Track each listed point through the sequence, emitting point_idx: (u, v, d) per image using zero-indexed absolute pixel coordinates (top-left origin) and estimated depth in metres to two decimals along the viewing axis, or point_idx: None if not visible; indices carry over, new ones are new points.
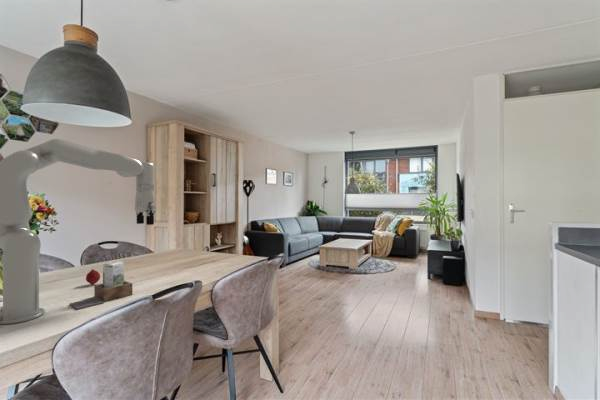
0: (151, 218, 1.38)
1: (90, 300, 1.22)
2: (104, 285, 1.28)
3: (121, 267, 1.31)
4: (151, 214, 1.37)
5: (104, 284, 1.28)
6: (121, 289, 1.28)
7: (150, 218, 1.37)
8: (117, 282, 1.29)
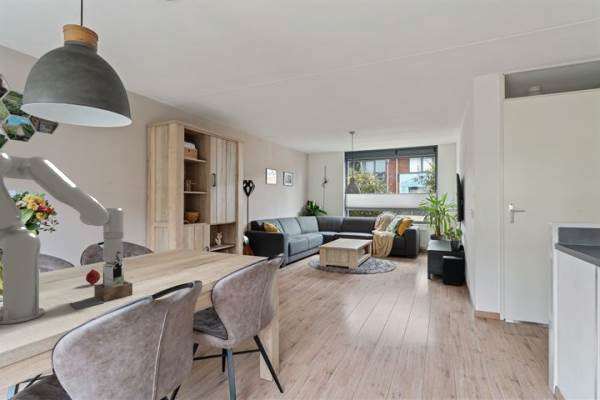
0: (118, 270, 1.28)
1: (90, 300, 1.22)
2: (104, 285, 1.28)
3: None
4: (118, 266, 1.27)
5: (104, 284, 1.28)
6: (121, 289, 1.28)
7: (117, 270, 1.27)
8: (117, 282, 1.29)
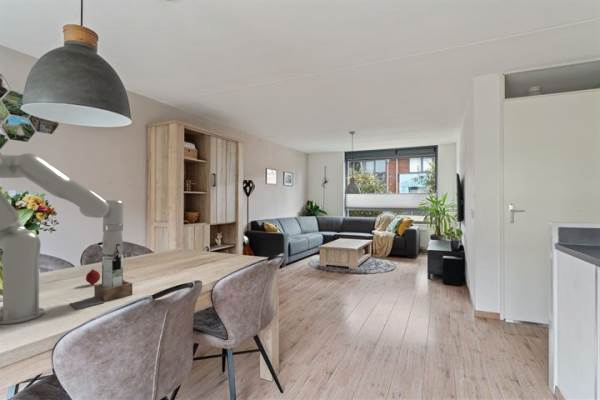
0: (118, 263, 1.27)
1: (90, 300, 1.22)
2: (103, 277, 1.28)
3: None
4: (117, 259, 1.27)
5: (103, 276, 1.28)
6: (121, 289, 1.28)
7: (116, 262, 1.27)
8: (116, 275, 1.29)
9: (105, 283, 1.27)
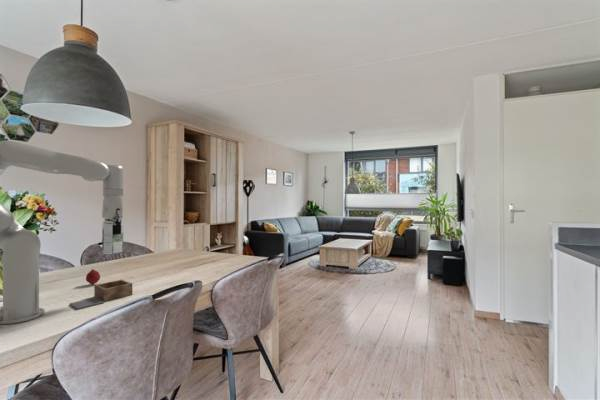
0: (118, 227, 1.27)
1: (90, 300, 1.22)
2: (103, 242, 1.28)
3: None
4: (118, 223, 1.27)
5: (103, 241, 1.28)
6: (121, 289, 1.28)
7: (117, 227, 1.27)
8: (116, 239, 1.29)
9: (105, 247, 1.28)
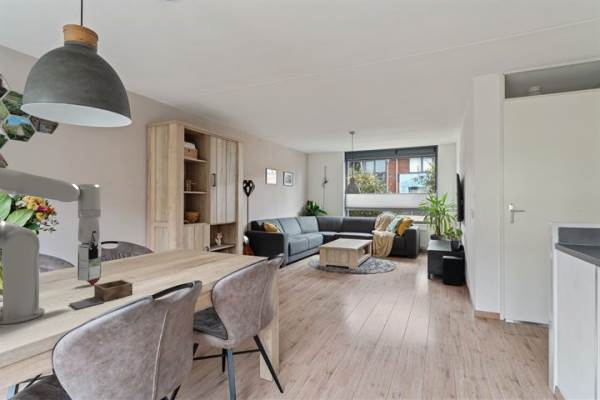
0: (94, 251, 1.18)
1: (90, 300, 1.22)
2: (79, 267, 1.18)
3: (98, 248, 1.21)
4: (94, 247, 1.17)
5: (79, 266, 1.18)
6: (121, 289, 1.28)
7: (93, 251, 1.17)
8: (93, 264, 1.19)
9: (81, 273, 1.18)
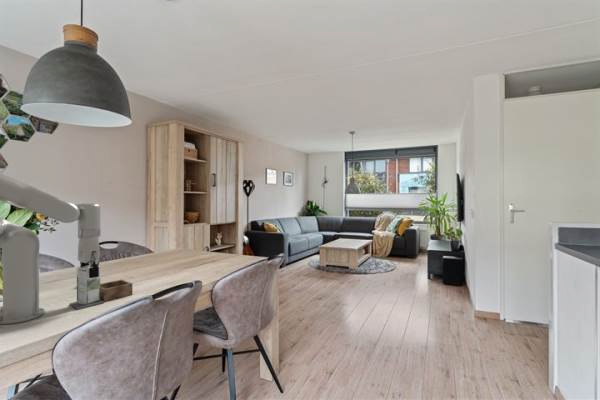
0: (95, 270, 1.17)
1: None
2: (78, 290, 1.18)
3: None
4: (95, 266, 1.16)
5: (78, 289, 1.18)
6: (121, 289, 1.28)
7: (94, 270, 1.17)
8: (92, 287, 1.19)
9: (80, 296, 1.18)
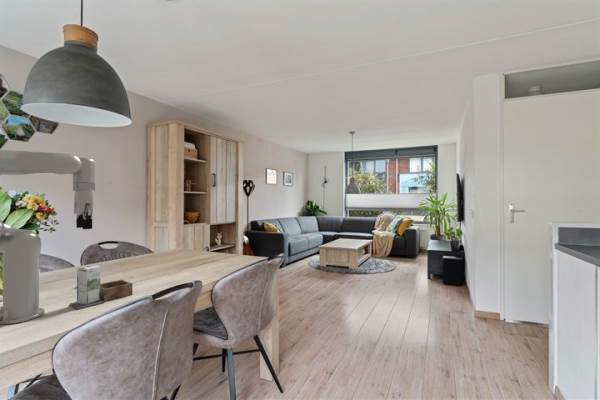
0: (88, 222, 1.20)
1: None
2: (78, 290, 1.18)
3: (97, 271, 1.21)
4: (88, 217, 1.20)
5: (78, 289, 1.18)
6: (121, 289, 1.28)
7: (87, 221, 1.20)
8: (92, 288, 1.19)
9: (80, 296, 1.18)
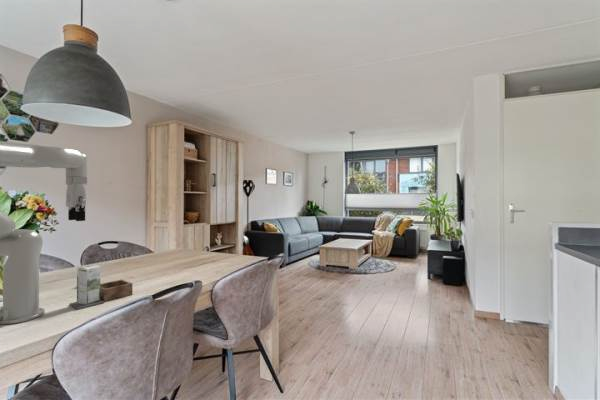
0: (81, 214, 1.26)
1: None
2: (78, 290, 1.18)
3: (97, 271, 1.21)
4: (81, 209, 1.25)
5: (78, 289, 1.18)
6: (121, 289, 1.28)
7: (80, 213, 1.26)
8: (92, 288, 1.19)
9: (80, 296, 1.18)
